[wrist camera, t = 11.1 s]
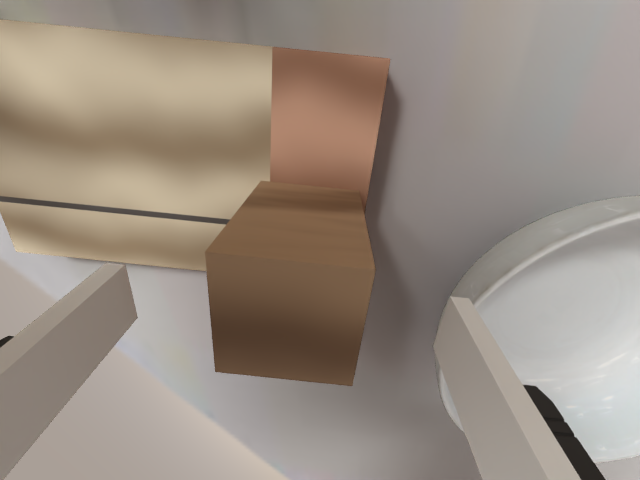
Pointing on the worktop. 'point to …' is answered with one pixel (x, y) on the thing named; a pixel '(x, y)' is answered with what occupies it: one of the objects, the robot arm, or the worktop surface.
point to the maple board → (168, 136)
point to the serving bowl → (569, 318)
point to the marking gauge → (291, 284)
